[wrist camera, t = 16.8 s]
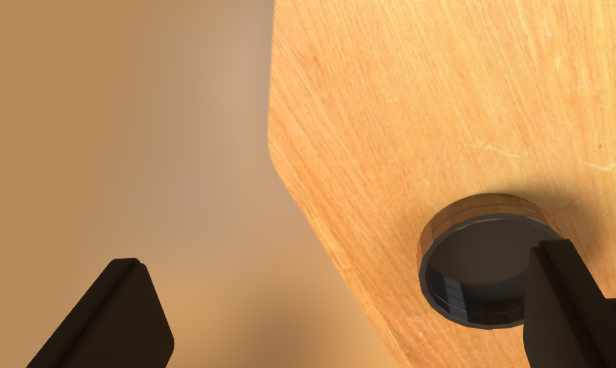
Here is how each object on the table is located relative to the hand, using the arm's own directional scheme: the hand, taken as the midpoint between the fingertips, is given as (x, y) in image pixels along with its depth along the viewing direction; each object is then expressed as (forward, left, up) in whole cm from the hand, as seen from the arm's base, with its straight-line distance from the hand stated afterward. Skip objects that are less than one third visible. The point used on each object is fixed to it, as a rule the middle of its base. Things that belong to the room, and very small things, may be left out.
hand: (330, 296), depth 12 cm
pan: (+19, -14, -30) cm, 39 cm away
